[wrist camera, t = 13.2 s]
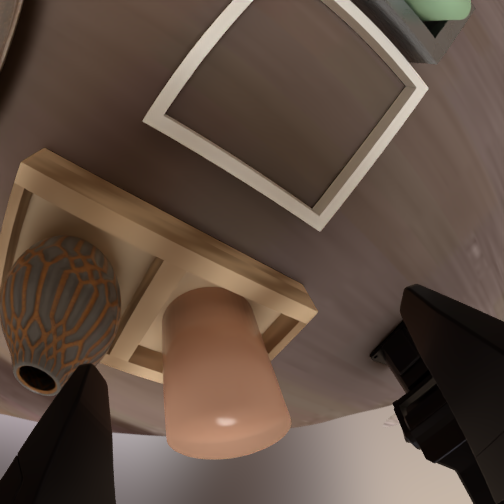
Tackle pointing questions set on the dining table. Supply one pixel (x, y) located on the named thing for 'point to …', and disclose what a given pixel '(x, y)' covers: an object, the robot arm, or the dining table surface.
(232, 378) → the block
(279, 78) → the dining table surface
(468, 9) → the button
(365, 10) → the button housing
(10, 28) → the plant saucer
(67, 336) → the vase
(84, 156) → the dining table surface
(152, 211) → the pallet
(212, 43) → the white square frame
